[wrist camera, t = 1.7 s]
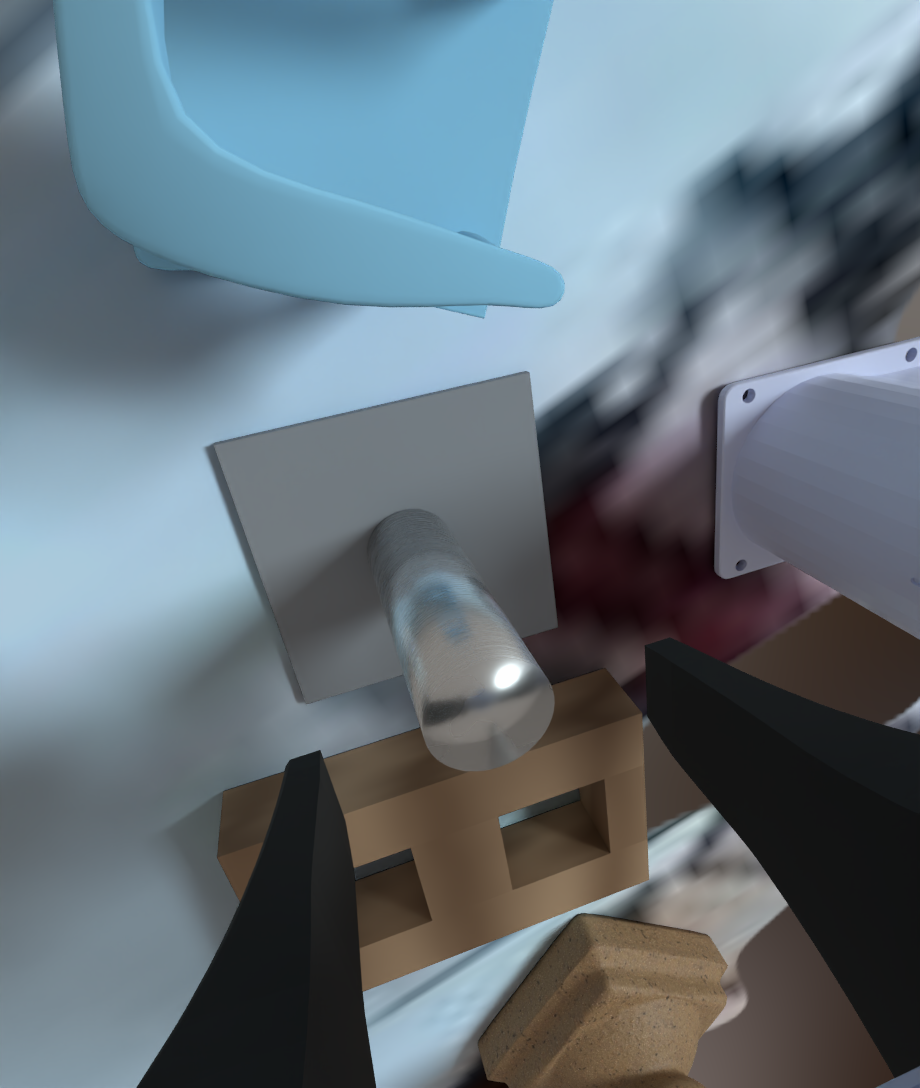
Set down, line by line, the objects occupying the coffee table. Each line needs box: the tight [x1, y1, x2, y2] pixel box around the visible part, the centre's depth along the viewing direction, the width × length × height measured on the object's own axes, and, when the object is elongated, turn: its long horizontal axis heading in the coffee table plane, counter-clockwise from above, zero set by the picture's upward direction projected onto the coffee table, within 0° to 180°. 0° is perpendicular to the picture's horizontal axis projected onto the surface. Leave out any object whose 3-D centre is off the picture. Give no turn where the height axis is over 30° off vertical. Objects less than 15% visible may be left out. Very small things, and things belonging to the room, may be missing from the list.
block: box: [217, 668, 649, 991], centre depth 26 cm, size 16×10×3 cm, turn 100°
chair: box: [53, 0, 565, 318], centre depth 11 cm, size 8×8×12 cm
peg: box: [367, 508, 555, 771], centre depth 17 cm, size 3×3×9 cm
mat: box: [214, 371, 558, 704], centre depth 22 cm, size 10×10×1 cm
